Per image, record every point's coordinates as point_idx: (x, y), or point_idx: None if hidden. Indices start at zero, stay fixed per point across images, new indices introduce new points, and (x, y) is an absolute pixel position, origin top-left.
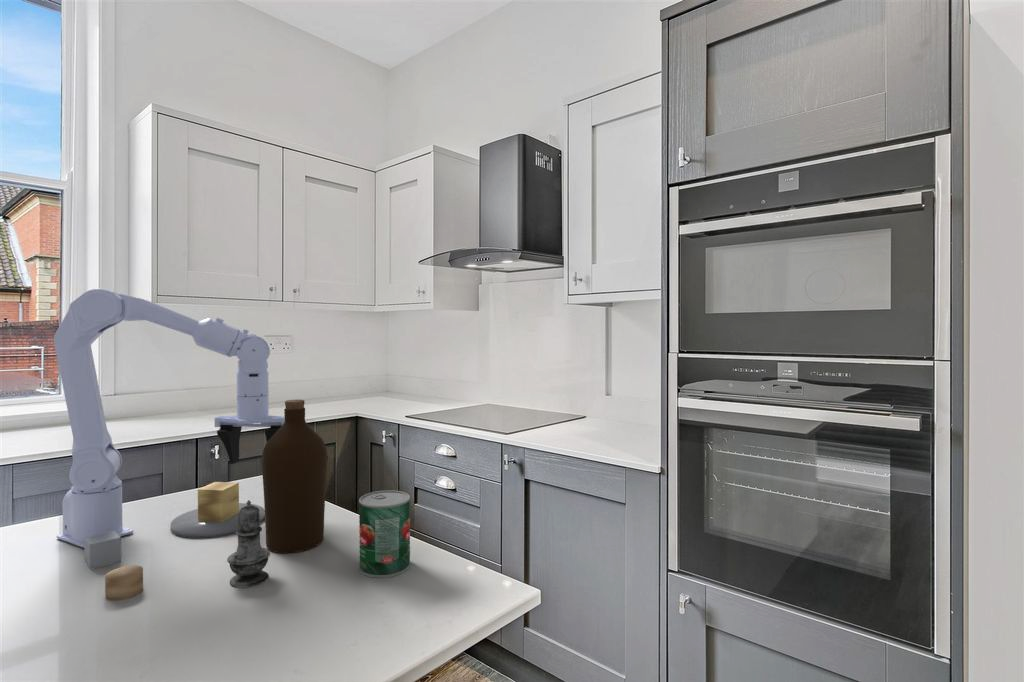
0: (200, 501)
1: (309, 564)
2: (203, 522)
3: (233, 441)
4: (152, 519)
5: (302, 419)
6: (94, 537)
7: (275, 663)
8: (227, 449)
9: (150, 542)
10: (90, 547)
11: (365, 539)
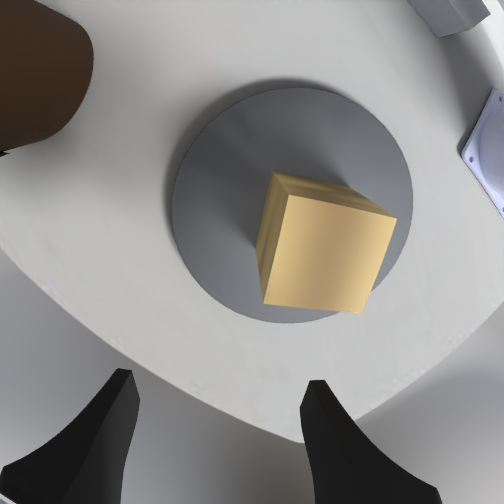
0: (367, 202)
1: None
2: (329, 171)
3: (334, 480)
4: (450, 242)
5: None
6: (476, 3)
7: None
8: (353, 431)
9: (407, 84)
10: None
11: None
